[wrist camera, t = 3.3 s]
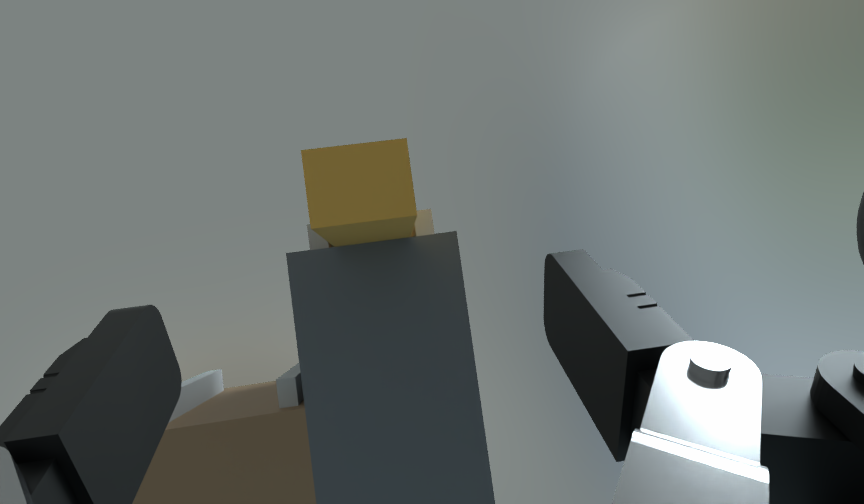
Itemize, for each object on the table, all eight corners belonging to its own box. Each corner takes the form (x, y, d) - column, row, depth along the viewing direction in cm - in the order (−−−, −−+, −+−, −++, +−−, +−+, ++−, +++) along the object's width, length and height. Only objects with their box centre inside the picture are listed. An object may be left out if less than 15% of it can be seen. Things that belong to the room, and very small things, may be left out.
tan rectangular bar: (417, 215, 20) (406, 138, 20) (310, 228, 20) (300, 150, 20) (405, 252, 39) (400, 212, 39) (351, 259, 39) (346, 219, 39)
